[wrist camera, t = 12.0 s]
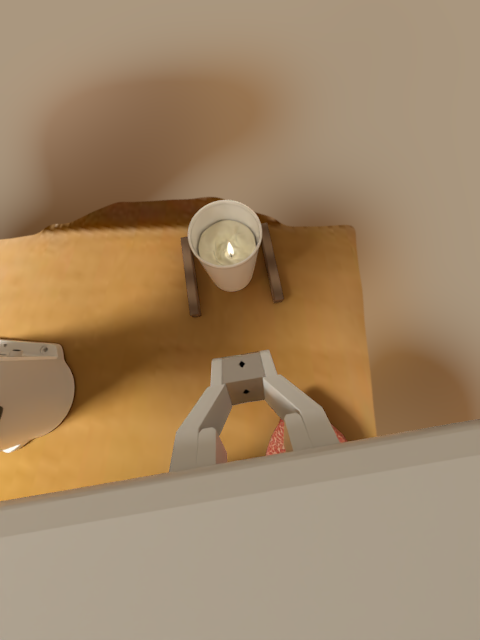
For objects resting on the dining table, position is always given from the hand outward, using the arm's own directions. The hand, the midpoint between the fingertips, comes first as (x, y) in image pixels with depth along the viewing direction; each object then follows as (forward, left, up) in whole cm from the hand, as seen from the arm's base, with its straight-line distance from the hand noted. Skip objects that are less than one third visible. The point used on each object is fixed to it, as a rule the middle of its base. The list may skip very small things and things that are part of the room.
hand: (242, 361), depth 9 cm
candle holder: (-7, +15, -23) cm, 28 cm away
